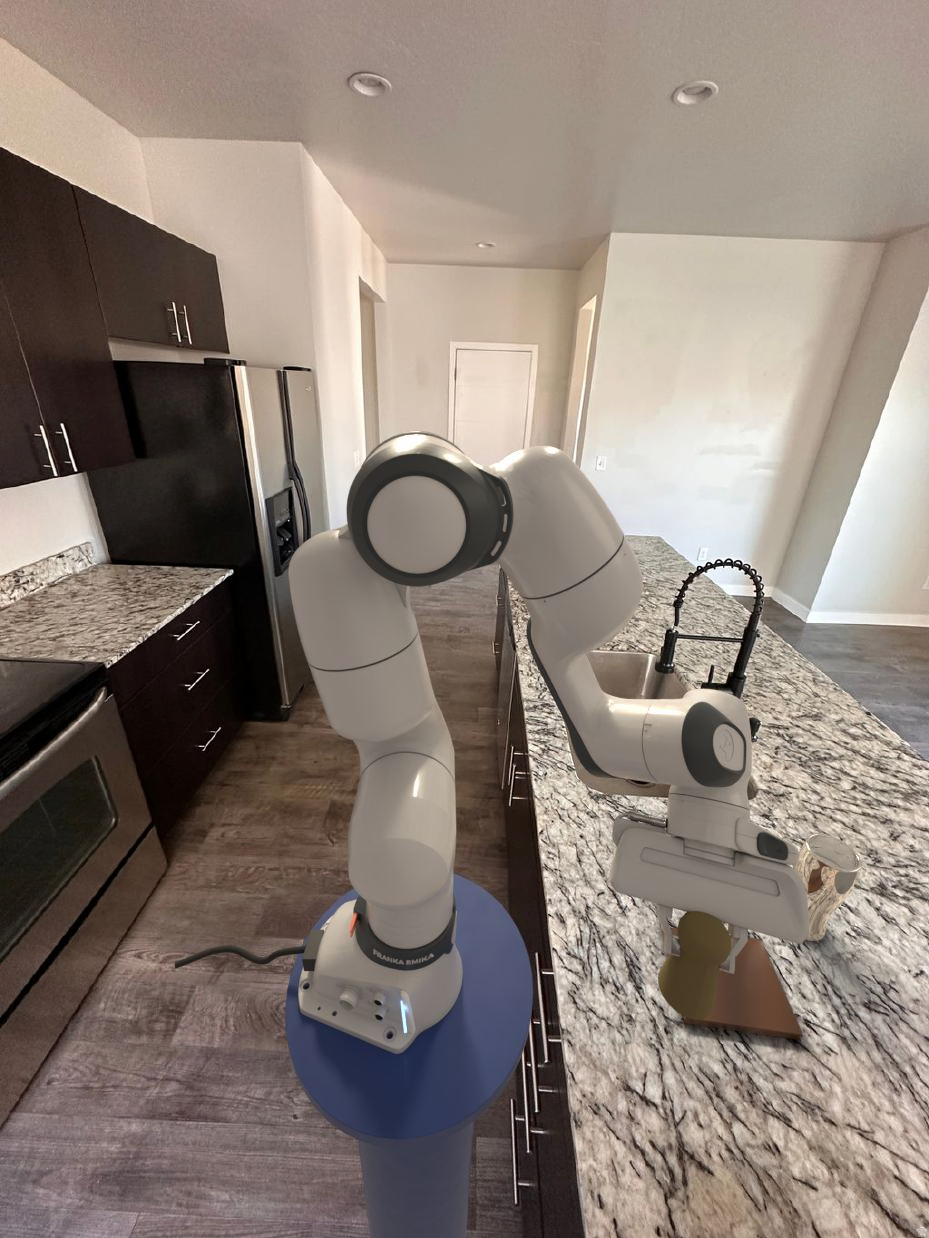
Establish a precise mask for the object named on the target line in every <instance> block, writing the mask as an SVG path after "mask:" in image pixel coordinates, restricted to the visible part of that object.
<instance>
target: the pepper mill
mask: <svg viewBox="0 0 929 1238" xmlns="http://www.w3.org/2000/svg"><path fill="white" fill-rule="evenodd" d="M676 928H677V933H678V939H679V942H680V951H681V954H680V957H676V956H673V955H669V956H666V957H667V958H666V959H665V960H664V963H663V964H662V965H661V968H660V969H659V972H658V974H657V975H658V976H657V982H658V988H659V990H660V993H661V995H662V997H663V998H664V1000H665V1001H666V1003H667V1004H668V1005H669V1007H671V1008H672V1009H673V1010H674V1011H675V1012H676V1013H678V1014H680V1015H681V1016H682V1017H683V1016H685V1017H687V1018H691V1019H695V1020H696V1019H704V1018H706V1017H708V1016H709V1015H710V1014H711V1012H712V1011H713V1009H714V1002H715V995H716V988H717V981H718V974H719V966H720V964H722V963H724V962H725V961H726V960H727V958H728V956H729V955H730V952H731V939H730V934H729V933H728V928H726V925H725V923H724V922H721V921H720V920H719V919H718V918H716V917H714V916H713V915H710V914H708V913H704V912H700V911H690V912H684V914H683V915H682V916H681V917H680V919H679V921H678V924H677V927H676Z"/></svg>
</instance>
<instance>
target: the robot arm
mask: <svg viewBox="0 0 929 1238" xmlns="http://www.w3.org/2000/svg"><path fill="white" fill-rule="evenodd" d="M346 522H347V523H346V524H345V525H343V526H340V527H337V528H332V529H329V530H325V531H322V532H320V533H318V534H315V535H313V536H312V537H309V538H308V539H307V540H306V541H303V543H302V544H301V545H300V546H298V548H297V549H296V550H295V551H294V553H293V554H292V556H291V558H290V560H289V563H288V583H289V592H290V593H289V594H290V599H291V605H292V609H293V614H294V619H295V624H296V628H297V632H298V636H299V639H300V644H301V646H302V650H303V652H304V656H305V659H306V662H307V665H308V667H309V670H310V673H311V676H312V678H313V681H314V685H315V687H316V690H317V693H318V695H319V699H320V702H321V704H322V707H323V710H324V713H325V715H326V718H327V721H328V724H329V725H330V727H331V728H332V730H333V731H334V732H335V733H336V734H338V735H339V736H341V737H342V738H345V739H347V740H351V741H352V742H353V743H354V745H355V746H356V749H357V752H358V757H359V780H358V785H357V791H356V795H355V799H354V804H353V807H352V810H351V811H352V812H351V816H350V820H349V823H348V824H349V825H348V831H347V832H348V833H347V835H348V836H347V870H348V872H347V873H348V878H349V882H350V884H351V886H352V889H353V888H354V889H355V890H356V892H357V893H358V894H359V895H360V896H359V897H358V898H357V899H356V900H353V901H349V902H346V903H344V904H343V905H342V906H340V907H339V908H338V910H337V911H336V912H335V914H334V915H333V916H332V917H331V918H329V919H328V921H327V922H326V923H325V924H324V925H323V927H322V928H321V929H320V930H319V929H312V928H311V929H310V930H309V933H308V935H309V937H308V940H307V944H306V946H302V945H299V946H292V947H284V948H281V949H277V950H274V951H273V952H271V953H270V954H269V955H268V956H258V955H256V954H254V953H252V952H249V951H248V950H246V949H244V948H242V947H239V946H236V945H229V944H228V945H227V944H226V945H219V946H214V947H209V948H206V949H204V950H201V951H199V952H197V953H194V954H192V955H190V956H186V957H184V958H182V959H179V960H176V961H175V962H174V969H175V970H176V969H179V968H183V967H185V966H188V965H190V964H192V963H195V962H196V961H197V962H198V961H199V960H203V959H204V958H207V957H210V956H213V955H218V954H224V953H226V954H228V953H229V954H234V955H237V956H240V957H242V958H244V959H245V960H247V961H248V962H250V963H253V964H256V965H261V966H262V965H268V964H270V963H271V962H273V961H274V960H275V959H277V958H281V957H285V956H291V955H293V956H294V955H298V954H303V953H304V954H303V958H302V962H303V969H302V973H301V977H300V982H299V990H298V1001H299V1008H300V1012H301V1013H302V1014H304V1015H305V1016H308V1017H310V1018H312V1019H314V1020H317V1021H319V1022H321V1023H324V1024H326V1025H328V1026H331V1027H333V1028H335V1029H338V1030H340V1031H342V1032H345V1033H347V1034H349V1035H352V1036H354V1037H357V1038H359V1039H361V1040H364V1041H366V1042H368V1043H371V1044H373V1045H375V1046H378V1047H380V1048H382V1049H385V1050H387V1051H389V1052H392V1053H394V1054H400V1053H402V1052H404V1051H405V1050H406V1049H407V1048H408V1047H409V1046H410V1044H411V1043H412V1042H413V1041H414V1039H415V1038H416V1037H417V1036H418V1035H419V1034H420V1033H421V1032H423V1031H424V1030H426V1029H428V1028H430V1027H431V1026H433V1025H435V1024H436V1023H438V1022H439V1021H440V1020H441V1019H442V1018H444V1017H445V1015H446V1014H447V1013H448V1012H449V1011H450V1010H451V1008H452V1007H453V1005H454V1004H455V1002H456V1000H457V998H458V995H459V992H460V989H461V985H462V979H463V967H462V961H461V957H460V954H459V952H458V949H457V947H456V945H455V938H456V925H457V911H456V903H455V898H454V894H453V874H454V871H455V870H454V868H455V859H456V847H457V806H456V805H457V803H456V802H457V801H456V800H457V799H456V798H457V796H456V763H455V762H456V760H455V758H456V757H455V748H454V743H453V740H452V736H451V733H450V730H449V727H448V724H447V722H446V720H445V718H444V715H443V711H442V709H441V708H440V705H439V703H438V700H437V699H436V696H435V692H434V688H433V685H432V681H431V677H430V672H429V668H428V665H427V661H426V655H425V652H424V648H423V643H422V639H421V635H420V632H419V631H420V630H419V628H418V622H417V619H416V615H415V612H414V606H413V603H412V598H411V597H412V596H411V587H428V586H433V585H437V584H441V583H444V582H446V581H449V580H452V579H454V578H456V577H458V576H460V575H462V574H464V573H467V572H470V571H473V570H477V569H480V568H484V567H487V566H490V565H493V564H495V563H497V564H498V565H499V567H500V568H501V569H502V570H503V572H504V573H505V575H506V576H507V577H508V579H509V581H510V582H511V584H512V586H513V587H514V588H515V590H516V591H517V593H518V594H519V596H520V597H521V600H522V601H523V602H524V605H525V607H526V608H527V611H528V612H529V614H528V615H529V618H528V620H527V623H526V633H525V634H526V641H527V645H528V647H529V651H530V653H531V656H532V658H533V661H534V663H535V665H536V667H537V669H538V670H539V673H540V676H541V677H542V680H543V682H544V683H545V686H546V687H547V689H548V691H549V693H550V695H551V697H552V699H553V701H554V703H555V705H556V707H557V709H558V711H559V713H560V715H561V717H562V720H563V721H564V723H565V725H566V728H567V731H568V735H569V739H570V742H571V746H572V749H573V750H574V755H575V756H576V758H577V760H578V762H579V763H580V764H581V765H582V767H583V768H584V770H586V772H587V773H588V774H590V775H591V776H594V777H596V778H601V779H602V778H603V779H615V780H616V779H619V780H623V779H625V780H626V779H627V780H633V781H640V782H645V783H651V784H659V785H668V786H669V785H670V787H669V789H668V795H667V808H666V816H665V817H666V818H665V817H661V816H656V815H651V814H643V813H640V812H639V811H635V810H627V812H623V813H620V814H618V815H617V816H616V817H615V818H614V819H613V824H612V831H611V837H612V841H613V843H614V845H615V848H614V851H613V855H612V859H611V863H610V870H609V876H608V882H609V884H610V886H611V888H612V889H613V890H614V892H616V893H619V894H622V895H625V896H629V897H633V898H636V899H640V900H643V901H647V902H649V903H654V904H656V907H655V914H656V917H657V919H658V921H659V924H660V927H661V930H662V929H663V932H664V933H665V935H664V940H663V952H664V953H665V954H666V955H667V954H669V955H673V956H676V957H680V954H681V951H680V942H679V939H678V936H675V935H673V934H672V931H671V929H670V927H671V926H670V923H669V922H668V919H670V920H671V919H673V914H674V913H673V912H674V909H675V910H678V911H682V912H684V913H686V912H690V911H700V912H704V913H708V914H710V915H713V916H714V917H716V918H718V919H719V920H720V921H721V922H722V923H723V924H727V931H728V933H729V935H732V936H733V937H732V938H731V952H730V955H729V956H728V958H727V960H726V961H725V962H724V963H722V964H720V966H719V970H722V971H725V972H728V973H731V974H734V971H735V956H737V955H738V953H739V952H740V951H741V950H742V948H743V947H744V946H745V944H746V943H747V942H748V937H749V931H752V932H756V933H759V934H762V935H765V936H766V935H767V936H770V937H773V938H777V939H781V940H784V941H788V942H790V943H794V944H798V945H800V944H801V945H802V943H804V942H805V941H806V938H807V937H808V936H809V911H808V901H807V895H806V889H805V885H804V882H803V879H802V877H801V876H800V874H799V873H798V872H797V871H796V870H795V869H794V868H793V865H795V864H797V863H798V860H799V851H800V850H799V849H798V846H796V845H795V844H793V843H791V842H790V841H789V840H786V839H784V838H782V837H780V836H779V835H777V834H775V833H773V832H771V831H770V830H768V829H765V828H764V827H762V826H761V825H758V824H756V823H754V822H753V821H751V804H750V801H749V797H748V785H749V781H750V779H751V776H752V773H753V772H752V770H753V746H752V745H753V744H752V743H753V742H752V733H751V723H750V716H749V712H748V708H747V705H746V703H744V702H743V701H742V700H741V699H740V698H738V697H737V696H735V695H733V694H731V693H728V692H726V691H723V690H718V689H713V688H697V689H690V690H689V691H687V692H686V693H684V695H683V696H682V697H681V698H660V699H657V698H656V699H655V698H654V699H652V698H651V699H650V698H647V699H646V698H622V697H618V696H614V695H611V694H609V693H606V692H605V691H603V690H602V688H601V685H600V684H599V681H598V679H597V677H596V675H595V673H594V670H593V668H592V665H591V663H590V661H589V659H588V656H587V654H590V653H591V652H593V651H595V650H597V649H600V648H602V647H603V646H605V645H607V644H608V643H609V642H611V641H612V640H614V638H616V637H617V636H618V635H619V634H620V633H621V632H622V631H623V630H624V629H625V628H626V627H627V625H628V624H629V623H630V621H631V620H632V618H633V617H634V616H635V613H636V612H637V610H638V607H639V606H640V602H641V599H642V596H643V588H644V578H643V573H642V569H641V565H640V564H639V561H638V558H637V556H636V554H635V552H634V550H633V548H632V546H631V544H630V542H629V540H628V539H627V537H626V535H625V533H624V531H623V529H622V528H621V526H620V524H619V522H618V521H617V519H616V517H615V515H614V514H613V513H612V511H611V509H610V508H609V506H608V504H607V503H606V501H605V499H603V496H602V495H601V494H600V493H599V491H598V490H597V488H596V487H595V486H594V484H593V483H592V482H591V481H590V479H589V478H588V476H587V475H586V474H585V473H584V472H583V471H582V469H581V467H579V466H578V464H576V462H575V461H574V460H573V459H572V458H571V457H570V455H568V454H567V452H565V451H563V450H561V449H560V448H557V447H554V446H550V445H535V446H530V447H525V448H522V449H519V450H517V451H515V452H512V453H511V454H510V455H507V456H506V457H505V458H503V459H502V460H501V461H499V462H498V463H493V464H489V465H483V464H479V463H476V462H475V461H473V460H472V458H470V457H469V456H467V455H466V454H465V453H464V452H463V450H461V449H460V447H459V446H458V445H456V444H455V443H454V442H452V441H450V440H449V439H447V438H445V437H443V436H441V435H439V434H437V433H433V432H430V431H423V430H412V431H406V432H401V433H398V434H396V435H392V436H390V437H388V438H387V439H385V440H383V441H382V442H380V443H379V444H377V445H376V446H375V447H374V448H373V449H372V450H371V451H370V452H369V454H368V455H367V456H366V457H365V459H364V460H363V463H362V464H361V466H360V468H359V469H358V472H357V473H356V475H355V476H354V478H353V480H352V483H351V484H350V487H349V490H348V494H347V499H346ZM624 817H626V818H624ZM306 986H309V988H308V989H306V990H305V989H304V988H305V987H306ZM334 1015H336V1016H334ZM390 1034H391V1035H393V1037H392V1039H387V1036H388V1035H390Z"/></svg>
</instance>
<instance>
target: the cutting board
mask: <svg viewBox="0 0 929 1238" xmlns="http://www.w3.org/2000/svg"><path fill="white" fill-rule="evenodd" d="M677 928H678V927H671V926H670V929H671V931H672V934H673V935H675V936H678V933H677ZM660 932H661V936H662V940H663V941H664V935H665V933H664V932H663V929H662V928H661V931H660ZM729 935H730V934H729ZM732 937H733V936H732V935H730V939H731V938H732ZM668 956H669V954H666V957H668ZM682 1019H683V1022H684V1024H689V1025H695V1026H702V1027H709V1028H714V1029H715V1028H716V1029H722V1030H729V1031H735V1032H736V1031H737V1032H743V1033H749V1034H756V1035H762V1036H770V1037H776V1038H783V1039H788V1040H789V1039H790V1040H796V1041H801V1039H802V1038H803V1036H804V1034H803V1032H802V1030H801V1029H802V1028H801V1027H800V1025H799V1022H798V1020H797V1018H796V1015H795V1013H794V1011H793V1009H792V1007H791V1004H790V1002H789V999H788V997H787V995H786V993H785V991H784V988H783V985H782V984H781V981H780V979H779V977H778V974H777V972H776V970H775V967H774V966H773V963H772V961H771V958H770V956H769V954H768V952H767V949H766V947H765V945H764V942H763V940H762V939H761V938H758V937H757V938H756V937H749V936H748V942H747V943H746V944H745V946H744V947H743V948H742V950H741V951H740V952H739V953H738V955H737V956H735V971H734V974H731V973H728V972H725V971H722V970H719V974H718V981H717V988H716V995H715V1002H714V1009H713V1011H712V1012H711V1014H710V1015H709V1016H708V1017H706V1018H704V1019H696V1020H695V1019H691V1018H687V1017H685V1016H683V1015H682Z"/></svg>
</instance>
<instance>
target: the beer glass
mask: <svg viewBox="0 0 929 1238" xmlns="http://www.w3.org/2000/svg"><path fill="white" fill-rule="evenodd" d="M798 851H799V860H798V863H797V864H795V865H792V868H794V869H795V870H796V871H797V872H798V873H799V874H800V876H801V877H802V879H803V882H804V885H805V889H806V895H807V901H808V911H809V936H808V937H807V938H806V939H805V941H809V942H819V941H821V940H823V938H824V937H825V935H826V931H827V924H828V921H829V919H830V917H831V916H832V915H833V914H834V913H835V912H836V910H838V909H839V908H840V907H841V906H842V904H844V902H845V901H846V900H847V898H849V896H850V894H851V893H852V891H853V889H854V887H855V884H856V882H857V879H858V877H859V873H860V870H861V868H862V865H863V863H862V860H861V858H860V855H859V854H858V853H857V852H856V851H855V850H854V848H852V846H851V845H849V844H848V843H846V842H845V841H843V840H841V839H839V838H837V837H835V836H833V835H830V834H827V833H822V832H821V833H820V832H814V833H810V834H809V835H807V836H806V838H805V840H804V842H803V844H802V846H801V847H800V849H799V850H798Z"/></svg>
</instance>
